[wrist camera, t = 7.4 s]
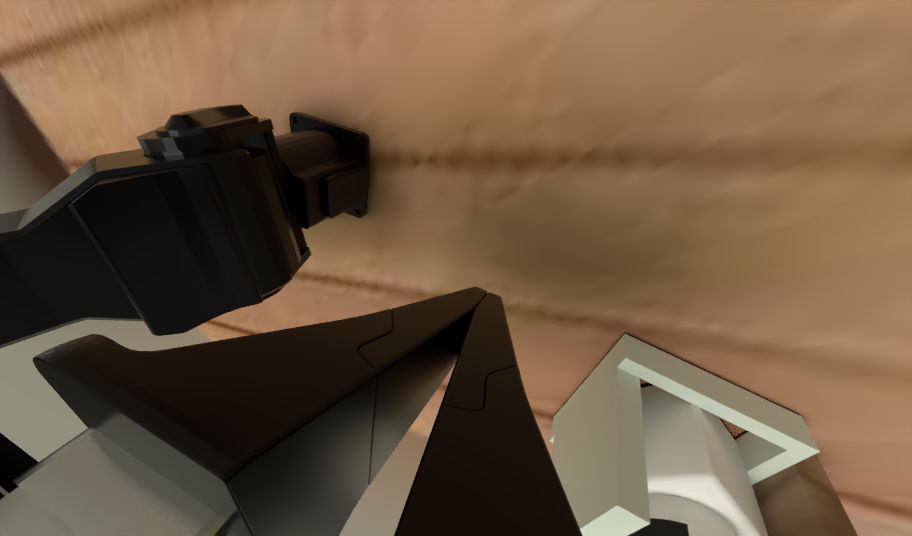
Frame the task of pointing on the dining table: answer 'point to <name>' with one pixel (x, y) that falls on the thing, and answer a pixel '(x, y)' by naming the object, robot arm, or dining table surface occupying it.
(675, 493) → the medicine bottle
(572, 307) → the dining table surface
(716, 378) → the white angle bracket
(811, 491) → the wall
